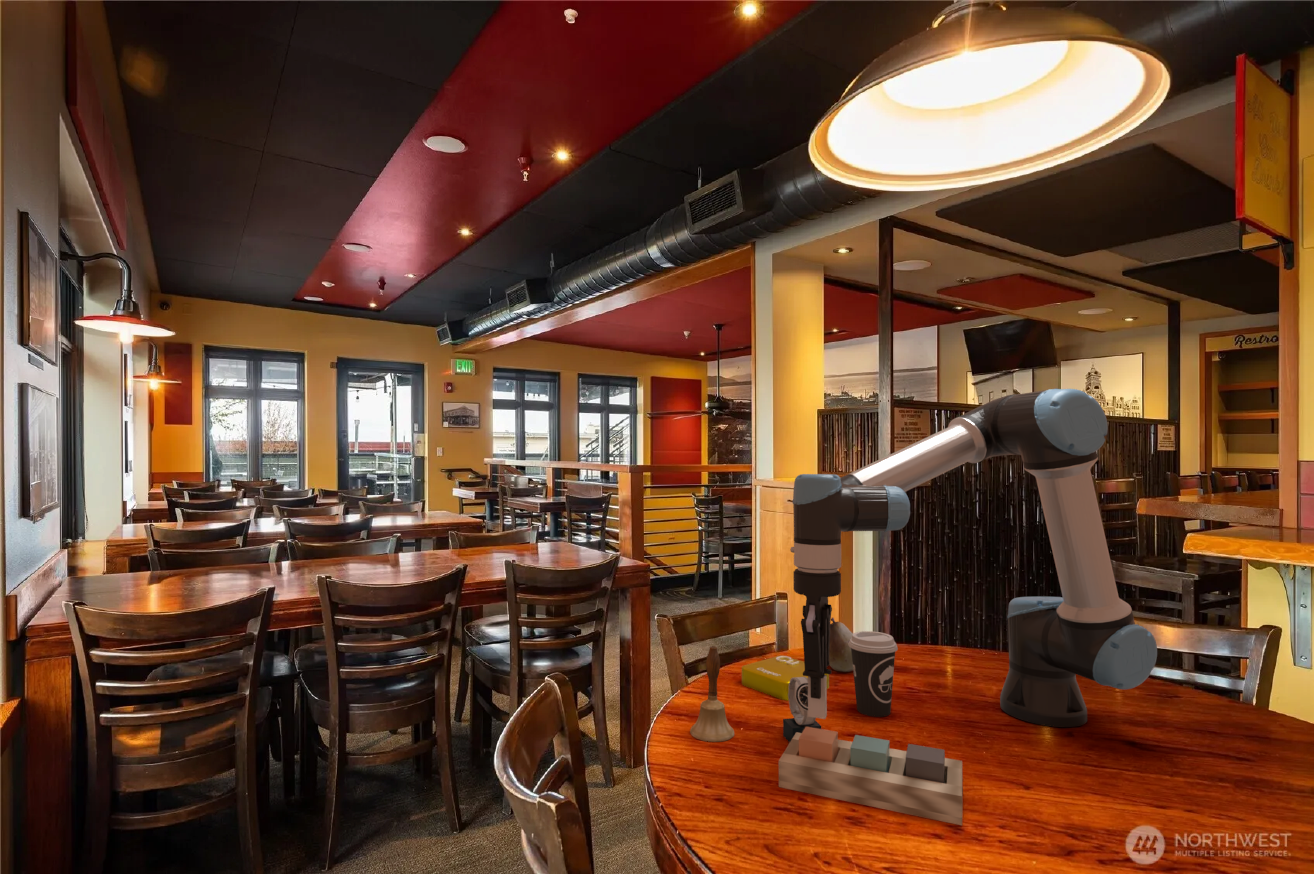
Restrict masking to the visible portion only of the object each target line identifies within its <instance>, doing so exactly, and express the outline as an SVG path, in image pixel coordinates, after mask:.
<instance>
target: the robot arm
mask: <svg viewBox="0 0 1314 874" xmlns="http://www.w3.org/2000/svg"><path fill="white" fill-rule="evenodd" d="M1108 428H1109V427H1108V420H1107V416H1106V414H1105V411H1104V409H1103V407H1102V406H1101V404H1100V403H1099V402H1098V400H1096V399H1095V398H1094V397H1093V396H1092V395H1089V394H1088V393H1087V392H1086V391H1083V390H1080V389H1077V388H1076V389H1075V388H1052V389H1051V388H1049V389H1045V390H1038V391H1032V392H1026V393H1024V392H1023V393H1019V394H1018V393H1017V394H1016V393H1015V394H1008V395H1004V396H1001V397H998V398H996V399H993V400H991V401H988V402H987V403H984V404H981V405H979V406H977V407H976V408H974V409H972V410H969V411H968V412H965V413H963V414H962V415H960V416H957V417H955V418H953V419H952V420H951V421H950V422H949V423H948V425H947V427H946V428H944V429H943V430H940V431H938V432H935V433H933V434H930V435H929V436H926V437H924V438H923V439H921V440H918V441H916V442H914V443H912V444H910V445H908V446H906V447H903V448H901V449H899V450H897V451H894V452H893V453H890V454H888V455H886V456H884V457H881V458H879V459H878V460H876V461H874V462H871V463H868V464H867V465H864V466H863V467H859V469H856V470H853V471H852V472H850V473H848V474H845V475H844V476H840V475H838V474H835V473H834V474H830V473H829V474H828V473H817V474H816V473H815V474H814V473H802V474H798V475H797V476H796V477H795V479H794V484H793V494H792V508H793V546H791V547H790V548H789V549H790V550H789V551H790V552H791V553H793V565H794V567H796V568H795V569H794V570H793V592H795V593H796V594H798V595H800V596H801V595H803V596H805V598H806V599H805V605H803V606H802V616H803V617H802V618H801V621H800V627H801V631H802V642H803V643H802V645H803V660H804V661H803V662H804V665H805V671H804V672H803V676H808V716H809V717H815V718H816V719H822V720H826V718H827V716H828V714H827V713H828V710H827V708H828V706H827V705H828V703H827V702H828V701H827V700H828V698H827V697H828V696H827V691H828V689H827V675H825V674H829V675H832V671H833V670H832V669H833V668H828V667H830V665H829V647H830V624H831V622H832V621H831V618H832V611H833V607H832V605H831V604H829V598H832V597H837V596H840V594H841V593H842V573H841V572H840V571H839V569H840V568H841V567H842V532H843V533H845V532H847V533H849V532H884V533H887V532H888V531H889V532H890V531H900V530H902V529H903V528H905V526H906V525H907V524H908V522H909V519H910V516H911V503H910V500H909V497H908V495H907V493H906V492H908V491H910V490H912V489H914V488H916V487H918V486H920V485H922V484H924V483H926V482H928V481H931V480H932V479H934V478H937V477H939V476H941V475H943V474H945V473H947V472H950V471H951V470H953V469H955V468H957V467H959V466H961V465H964V464H966V463H967V462H968V463H969V464H970V463H971V464H977V463H980V462H981V461H984V460H987V459H990V458H993V457H999V456H1012V455H1013V456H1015V455H1016V456H1021V460H1022V465H1023V469H1024V471H1026V472H1028V473H1029V474H1031V475H1032V476H1034V477H1035V480H1036V485H1037V489H1038V494H1039V497H1040V502H1041V507H1042V511H1043V515H1044V520H1045V525H1046V529H1047V533H1048V537H1049V543H1050V547H1051V550H1052V551H1051V552H1052V555H1053V560H1054V564H1055V568H1056V573H1057V577H1058V582H1059V586H1060V591H1061V596H1062V597H1061V596H1020V597H1014V598H1013V599H1011V600H1010V602H1009V603H1008V612H1007V613H1008V614H1007V617H1006V618H1007V637H1008V639H1007V641H1008V662H1009V663H1008V672H1007V675H1006V678H1005V680H1004V683H1003V687H1002V690H1001V692H1000V695H999V698H1000V700H999V704H1000V705H999V706H1000V709H1001V710H1002V711H1003V712H1005V713H1006V714H1008V715H1009V716H1011V717H1014V718H1016V719H1019V720H1021V721H1025V722H1028V723H1031V724H1036V725H1040V726H1041V725H1042V726H1047V727H1057V728H1075V727H1080V726H1083V725H1085V724H1087V722H1088V708H1087V706H1086V703H1085V700H1084V697H1083V695H1082V692H1081V689H1080V687H1079V684H1078V681H1077V676H1079V677H1083V678H1085V679H1089V680H1091V681H1094V682H1096V683H1097V684H1099V685H1101V686H1106V687H1107V686H1108V687H1110V688H1114V689H1118V690H1131V689H1134V688H1136V687H1138V686H1140V685H1142V684H1143V683H1144V682H1145V681H1146V680H1147V679H1148V678H1149V676H1150V675H1151V672H1152V670H1154V668H1155V666H1156V663H1157V659H1158V658H1157V657H1158V645H1157V641H1156V639H1155V636H1154V635H1153V633H1152V632H1151V631H1149V630H1148V629H1147V628H1145V627H1144V626H1143V625H1140V624H1137V623H1135V618H1134V614H1133V609H1132V607H1131V606H1132V605H1130V604H1129V603H1128V602H1126V601H1125V600H1123V599H1122V598H1120V597H1119V593H1118V588H1117V584H1116V578H1115V575H1114V570H1113V565H1112V561H1111V557H1110V553H1109V548H1108V542H1107V539H1106V535H1105V531H1104V525H1103V521H1102V517H1101V512H1100V508H1099V503H1098V498H1097V494H1096V490H1095V489H1096V488H1095V485H1094V480H1093V476H1092V473H1091V470H1092V468H1093V466H1094V465H1095V463H1096V462H1097V461H1098V459H1099V456H1098V450H1099V449H1101V448H1102V446H1103V445H1104V443H1105V442H1106V438H1105V436H1107V435H1108V430H1109V429H1108ZM1076 675H1077V676H1076Z"/></svg>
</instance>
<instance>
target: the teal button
mask: <svg viewBox="0 0 1314 874" xmlns="http://www.w3.org/2000/svg"><path fill="white" fill-rule="evenodd" d="M851 742H852V745H851V747H850V754H851V766H854V767H860V768H865V769H870V770H876V771H881V772H886V773H888V771H889V767H890V749H891V748H890V744H891V743H890V740H888V739H882V738H876V737H870V736H864V735H858V734H855V735H854V738H853V741H851Z"/></svg>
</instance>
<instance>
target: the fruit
mask: <svg viewBox="0 0 1314 874" xmlns="http://www.w3.org/2000/svg"><path fill="white" fill-rule="evenodd" d="M831 622H832V623H830V647H829V667H831V669H833V670H834V671H836V672H843V673H849V672H853V662H852V653H851V647H849V645H848V644H849V641H850V639H851V638H852V635H853V634H854V632H852V631H851V630H850V629H849V628H848V626H846V625H845V624H844V623H843V622H841V621H836V620H835V618H834V617H831Z"/></svg>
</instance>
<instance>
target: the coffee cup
mask: <svg viewBox="0 0 1314 874" xmlns="http://www.w3.org/2000/svg"><path fill="white" fill-rule="evenodd" d="M848 645H849V647H851V653H852V662H853V671H852V672H853V680H854V681H853V682H854V683H853V684H854V691H855V702H856V711H857V712H858V713H860V714H862V715H865V716H868V717H874V718H875V717H876V718H883V717H888V716H889V715H890V714H891V712H892V711H891V710H892V699H893V698H892V697H893V685H894V673H895V672H894V669H895V661H896V659H895V657H896V652H897V651H898V649H899V648H898V645H897V642H896V641H895V639H894V637H893V635H891V634H888V633H885V632H879V631H867V630H866V631H865V630H864V631H863V630H862V631H857V632H853V635H852V638H851V639H850V641H849V644H848Z"/></svg>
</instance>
